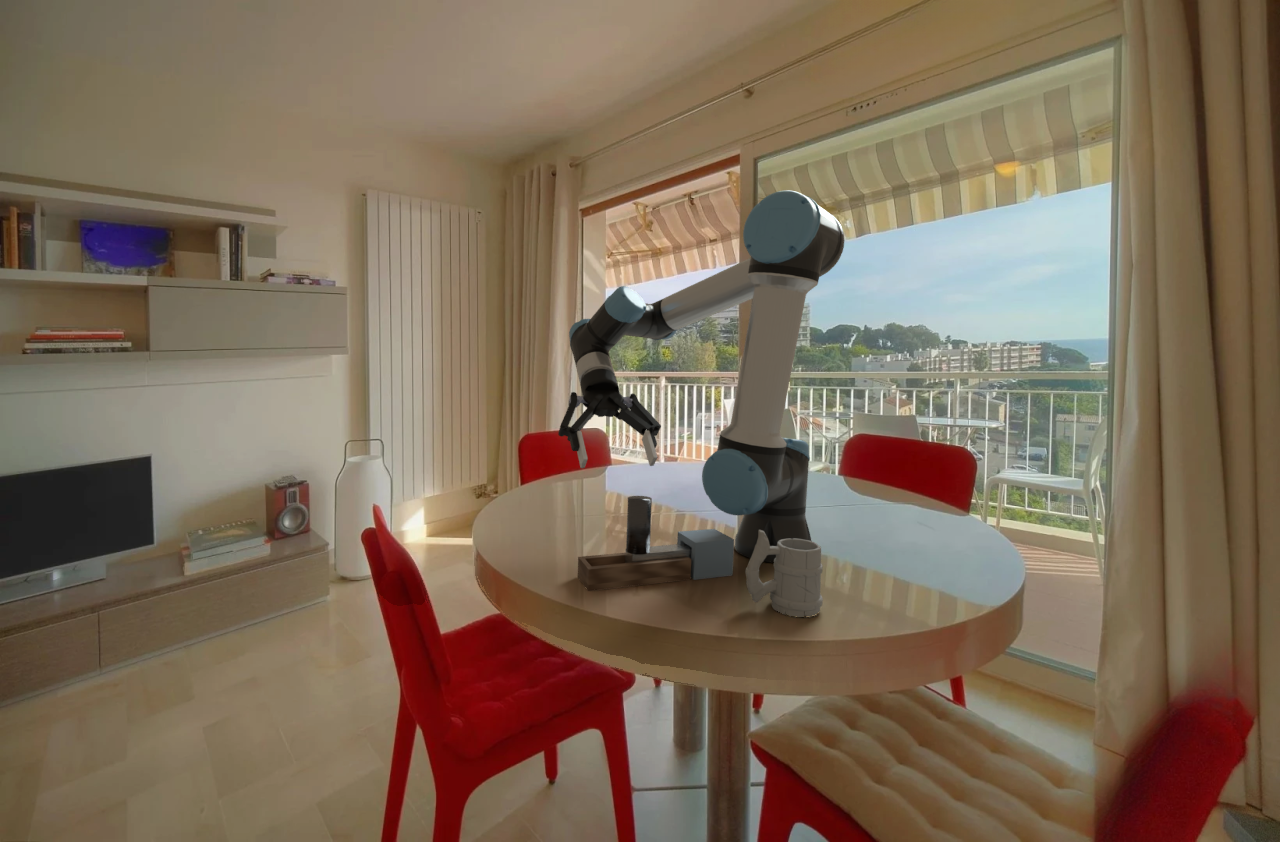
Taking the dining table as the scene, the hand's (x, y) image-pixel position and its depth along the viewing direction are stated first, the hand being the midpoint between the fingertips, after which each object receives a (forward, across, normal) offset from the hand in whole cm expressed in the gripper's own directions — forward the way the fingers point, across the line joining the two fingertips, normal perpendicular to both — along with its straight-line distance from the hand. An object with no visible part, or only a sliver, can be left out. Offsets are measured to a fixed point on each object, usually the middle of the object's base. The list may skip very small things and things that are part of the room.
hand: (619, 462), depth 103 cm
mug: (+33, -16, +7) cm, 38 cm away
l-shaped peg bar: (+19, -6, -5) cm, 21 cm away
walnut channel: (+20, 0, -5) cm, 21 cm away
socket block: (+20, -13, -5) cm, 24 cm away
